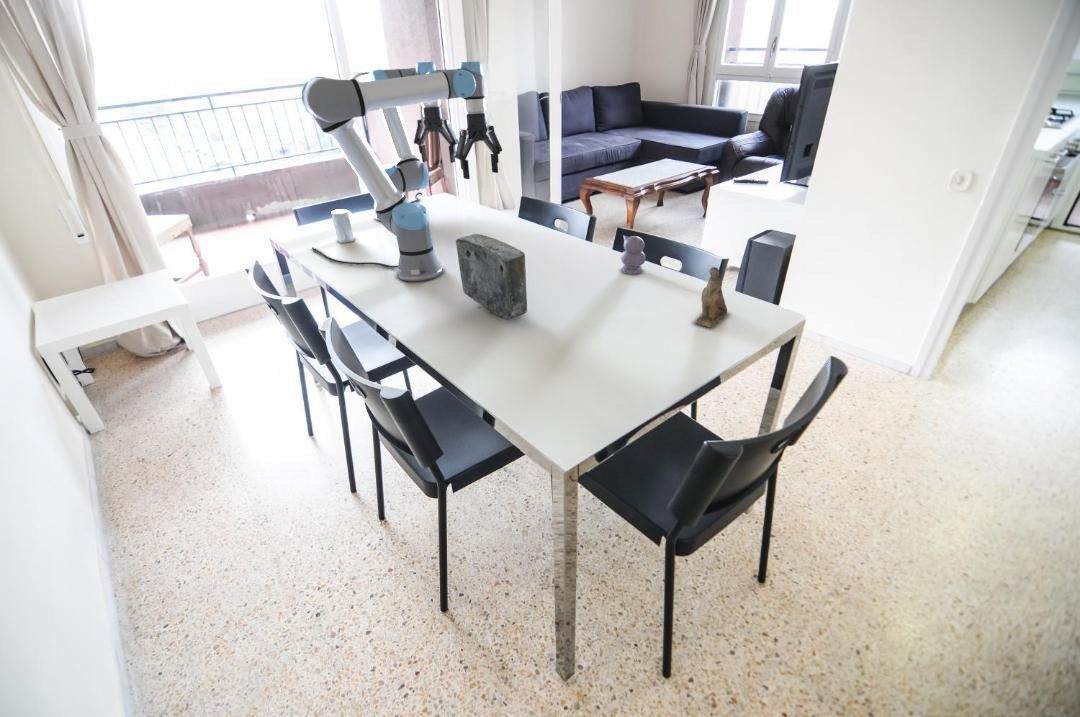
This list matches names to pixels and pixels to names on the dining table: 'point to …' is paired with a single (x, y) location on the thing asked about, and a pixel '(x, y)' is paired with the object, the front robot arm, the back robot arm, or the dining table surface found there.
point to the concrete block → (493, 274)
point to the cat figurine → (633, 254)
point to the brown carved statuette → (712, 301)
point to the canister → (342, 225)
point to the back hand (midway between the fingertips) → (438, 162)
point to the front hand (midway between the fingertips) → (481, 175)
